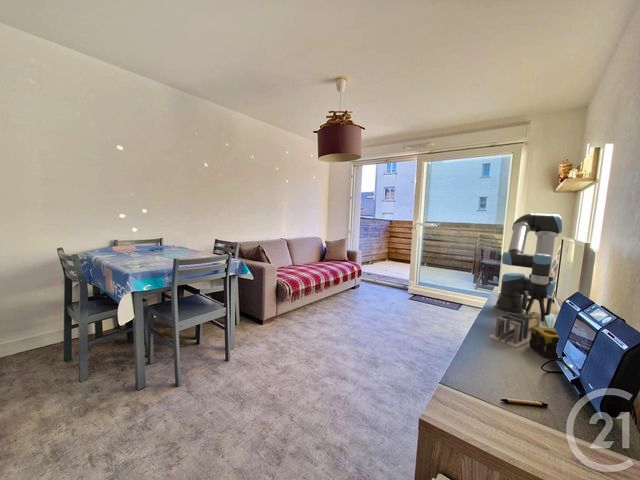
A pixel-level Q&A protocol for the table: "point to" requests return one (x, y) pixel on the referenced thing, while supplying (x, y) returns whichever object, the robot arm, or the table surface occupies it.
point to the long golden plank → (532, 319)
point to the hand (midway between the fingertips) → (533, 324)
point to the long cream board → (512, 337)
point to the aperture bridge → (517, 325)
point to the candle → (544, 341)
